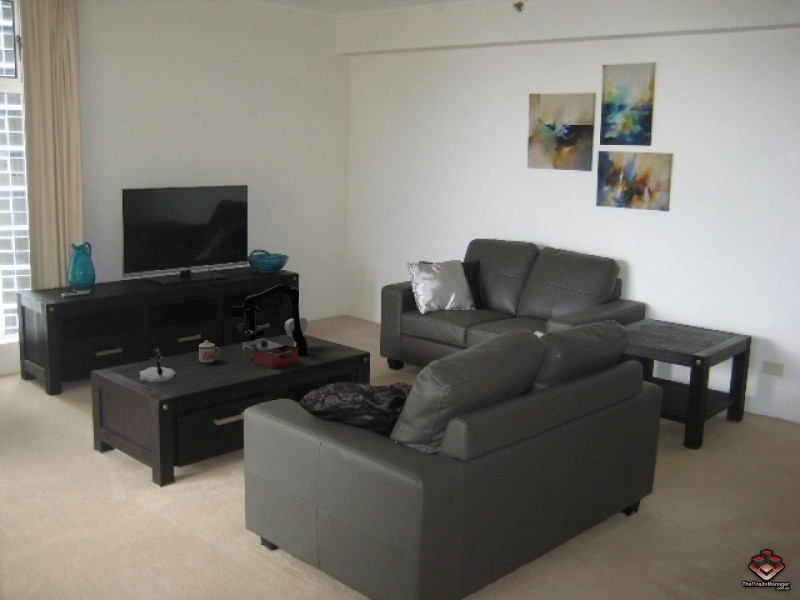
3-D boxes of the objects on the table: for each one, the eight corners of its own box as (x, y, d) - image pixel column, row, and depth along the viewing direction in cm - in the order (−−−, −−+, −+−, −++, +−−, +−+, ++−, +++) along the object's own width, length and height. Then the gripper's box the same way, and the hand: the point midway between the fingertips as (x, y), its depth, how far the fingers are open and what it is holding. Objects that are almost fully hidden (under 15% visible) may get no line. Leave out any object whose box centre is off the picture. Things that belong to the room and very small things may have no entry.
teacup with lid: (202, 363, 483) (202, 343, 481) (196, 359, 491) (195, 339, 488) (222, 360, 490) (222, 340, 488) (216, 357, 497) (216, 337, 495)
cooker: (279, 356, 501) (279, 342, 499) (300, 363, 489) (300, 348, 488) (253, 362, 488) (253, 348, 486) (275, 369, 476) (275, 354, 474)
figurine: (143, 369, 468) (142, 340, 463) (177, 369, 469) (176, 341, 464) (135, 383, 449) (133, 354, 444) (171, 384, 450) (170, 355, 445)
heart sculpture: (302, 344, 530) (302, 315, 526) (308, 345, 527) (308, 316, 523) (283, 349, 518) (283, 319, 514) (289, 350, 515) (289, 321, 511)
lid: (264, 344, 507) (264, 336, 505) (284, 350, 495) (284, 341, 494) (243, 349, 495) (242, 340, 494) (263, 355, 484) (263, 346, 482)
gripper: (229, 317, 499) (229, 343, 502) (249, 322, 487) (250, 349, 490) (244, 314, 507) (245, 340, 511) (265, 319, 495) (265, 346, 498)
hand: (251, 344), depth 502 cm, fingers closed
